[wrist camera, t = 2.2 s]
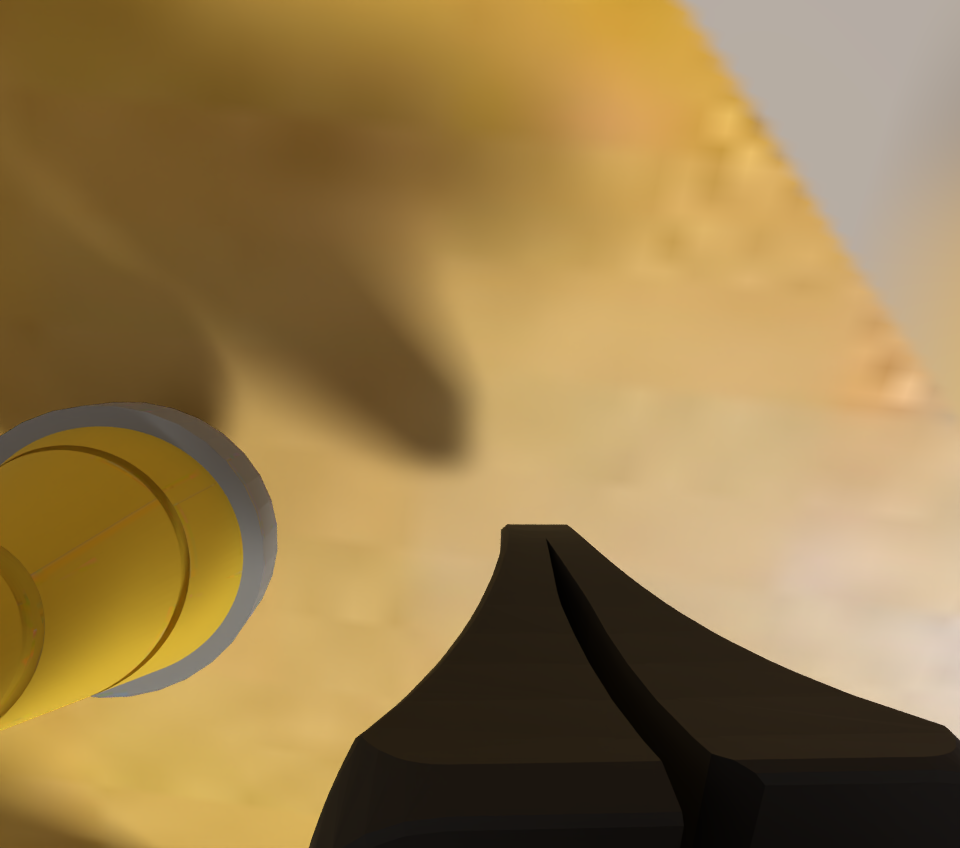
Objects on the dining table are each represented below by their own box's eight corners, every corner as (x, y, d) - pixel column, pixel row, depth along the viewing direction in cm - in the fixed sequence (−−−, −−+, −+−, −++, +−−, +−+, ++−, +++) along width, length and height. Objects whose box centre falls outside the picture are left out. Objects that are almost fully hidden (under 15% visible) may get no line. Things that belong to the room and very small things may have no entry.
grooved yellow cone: (53, 575, 13) (-1060, 1205, 3) (112, 364, 13) (-938, 359, 3) (272, 630, 14) (-99, 1283, 4) (333, 431, 14) (93, 610, 4)
